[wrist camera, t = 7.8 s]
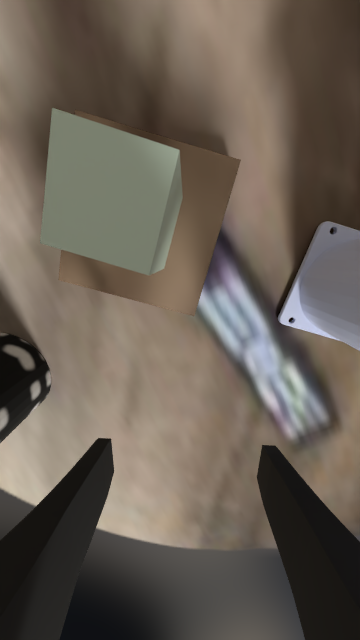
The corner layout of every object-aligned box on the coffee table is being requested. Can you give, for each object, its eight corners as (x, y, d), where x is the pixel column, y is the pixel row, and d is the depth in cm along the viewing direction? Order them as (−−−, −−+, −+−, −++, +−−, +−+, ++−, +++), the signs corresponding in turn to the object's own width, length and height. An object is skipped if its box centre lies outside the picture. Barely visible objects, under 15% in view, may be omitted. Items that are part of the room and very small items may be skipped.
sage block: (182, 197, 13) (179, 150, 7) (164, 268, 14) (149, 275, 9) (112, 175, 13) (52, 107, 7) (100, 249, 14) (39, 243, 8)
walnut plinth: (230, 178, 15) (240, 160, 12) (193, 306, 18) (194, 316, 15) (96, 138, 15) (74, 109, 12) (79, 276, 18) (58, 279, 15)
